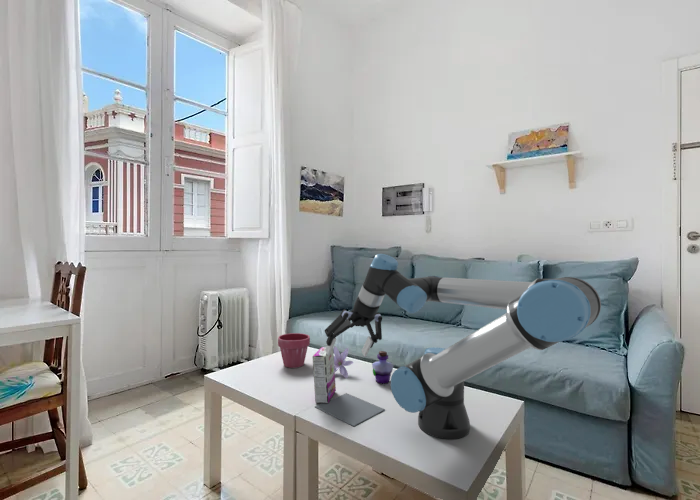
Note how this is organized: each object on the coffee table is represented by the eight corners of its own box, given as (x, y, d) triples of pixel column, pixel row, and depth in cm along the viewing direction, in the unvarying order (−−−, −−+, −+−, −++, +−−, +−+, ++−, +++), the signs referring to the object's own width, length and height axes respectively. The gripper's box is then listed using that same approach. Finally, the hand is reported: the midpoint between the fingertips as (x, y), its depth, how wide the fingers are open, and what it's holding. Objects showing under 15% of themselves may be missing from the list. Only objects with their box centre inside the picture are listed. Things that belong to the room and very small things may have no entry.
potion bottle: (367, 380, 143) (367, 350, 143) (383, 375, 148) (383, 347, 148) (381, 387, 136) (382, 356, 136) (398, 382, 142) (398, 352, 141)
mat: (384, 410, 118) (384, 409, 118) (353, 426, 107) (353, 425, 107) (346, 393, 131) (346, 393, 131) (314, 407, 120) (314, 406, 120)
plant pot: (299, 357, 172) (299, 331, 171) (315, 365, 161) (315, 337, 161) (272, 363, 163) (272, 335, 162) (287, 372, 152) (287, 342, 152)
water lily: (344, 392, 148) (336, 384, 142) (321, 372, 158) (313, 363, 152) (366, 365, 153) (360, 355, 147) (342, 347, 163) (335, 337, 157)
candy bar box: (323, 390, 133) (321, 346, 133) (336, 391, 132) (334, 346, 132) (314, 403, 122) (311, 355, 122) (328, 403, 121) (326, 355, 121)
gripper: (396, 298, 120) (373, 347, 127) (329, 289, 109) (308, 343, 116) (406, 311, 113) (382, 362, 121) (336, 303, 102) (314, 360, 110)
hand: (345, 353), depth 118 cm, fingers open, 13 cm apart
